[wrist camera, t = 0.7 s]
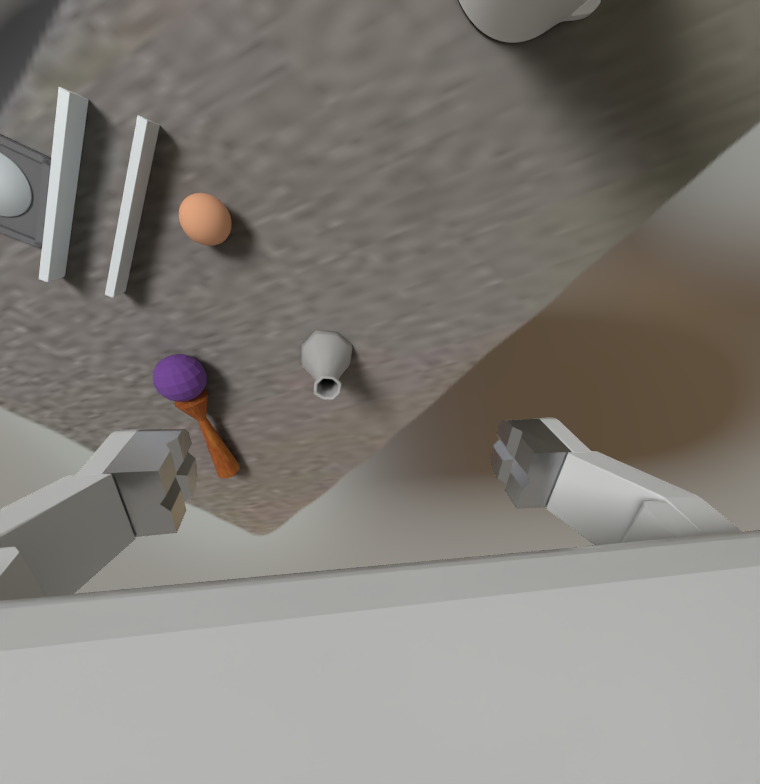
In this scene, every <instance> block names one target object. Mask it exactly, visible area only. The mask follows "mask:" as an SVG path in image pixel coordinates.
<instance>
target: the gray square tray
mask: <svg viewBox="0 0 760 784" xmlns="http://www.w3.org/2000/svg"><path fill="white" fill-rule="evenodd" d="M50 167H51V158H50V157H48V156H46V155H44V154H42V153H40V152H38V151H35V150H33V149H31V148H29V147H27V146H25V145H23V144H20V143H18V142H16V141H14V140H12V139H10V138H8V137H5V136H3V135H1V134H0V232H1V233H3V234H6V235H8V236H11V237H13V238H16V239H18V240H21V241H23V242H26V243H28V244H31V245H33V246H36V247H39V248H41V249H42V243H43V234H44V224H45V215H46V205H47V195H48V186H49V176H50Z"/></svg>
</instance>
